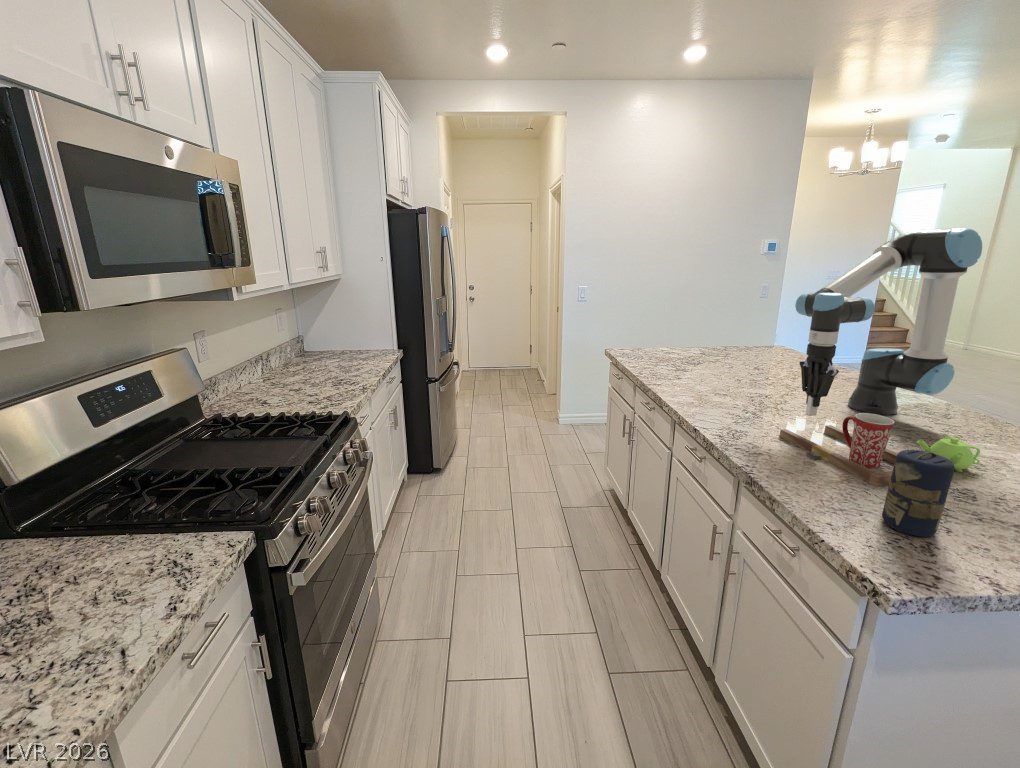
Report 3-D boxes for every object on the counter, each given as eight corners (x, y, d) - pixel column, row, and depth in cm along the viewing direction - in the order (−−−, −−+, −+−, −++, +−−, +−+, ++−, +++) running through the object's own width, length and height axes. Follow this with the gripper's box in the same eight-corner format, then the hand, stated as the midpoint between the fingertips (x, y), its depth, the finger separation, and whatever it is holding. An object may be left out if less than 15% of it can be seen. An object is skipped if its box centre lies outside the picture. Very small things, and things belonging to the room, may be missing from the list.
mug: (892, 467, 132) (903, 422, 129) (866, 471, 130) (877, 425, 127) (851, 449, 144) (860, 407, 141) (827, 452, 142) (835, 410, 138)
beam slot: (836, 431, 159) (838, 424, 158) (944, 477, 126) (947, 469, 126) (771, 437, 154) (772, 430, 153) (866, 487, 122) (868, 478, 121)
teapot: (986, 473, 129) (994, 444, 127) (953, 477, 127) (961, 448, 124) (942, 456, 140) (949, 429, 137) (910, 460, 137) (917, 432, 135)
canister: (869, 516, 109) (886, 443, 104) (908, 514, 109) (926, 442, 104) (906, 541, 99) (927, 463, 94) (948, 539, 100) (970, 460, 95)
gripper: (795, 340, 153) (785, 409, 159) (829, 348, 141) (817, 423, 147) (815, 339, 154) (805, 407, 161) (850, 346, 142) (837, 420, 149)
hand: (810, 414), depth 154 cm, fingers closed
